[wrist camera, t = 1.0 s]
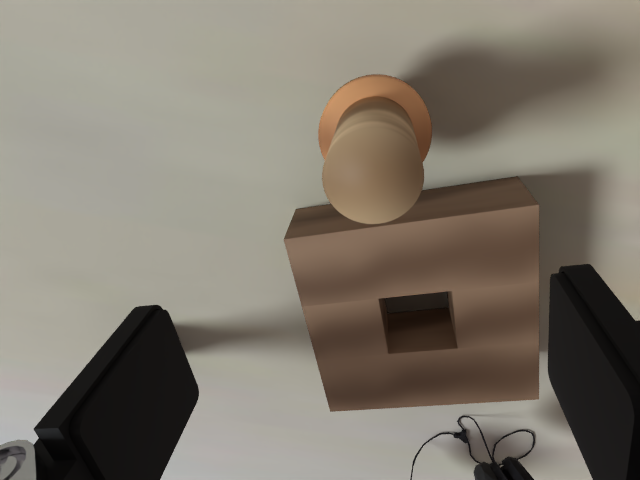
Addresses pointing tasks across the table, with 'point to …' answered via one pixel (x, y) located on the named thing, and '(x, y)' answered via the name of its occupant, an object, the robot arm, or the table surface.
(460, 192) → the socket block
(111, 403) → the robot arm
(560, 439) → the table surface
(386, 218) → the peg
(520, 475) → the headphones
